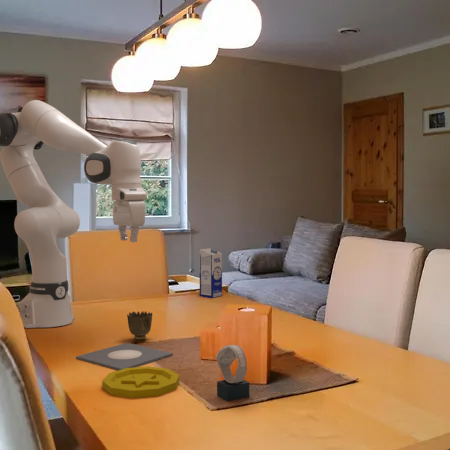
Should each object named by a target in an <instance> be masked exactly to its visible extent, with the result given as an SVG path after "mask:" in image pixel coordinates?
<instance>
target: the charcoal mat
mask: <svg viewBox="0 0 450 450" xmlns="http://www.w3.org/2000/svg"><path fill="white" fill-rule="evenodd" d="M168 356H169V357H172V356H174V354H173V352H169V351H164V350H161V349H157V348H152V347H148V346H145V345H139V344H135V343H130V342H125V343H121V344H117V345H114V346H110V347H106V348H101V349H99V350H95V351H91V352H87V353H84V354H83V353H82V354H80V355H76V356H75V359H76V360H80V361H84V362H87V363H90V364H94V365H97V364H98V366H101V367H105V368H108V369H113V370H114V371H118V370H122V369H125V368H134V367H142V366H144V365H147V364H150V363H153V361H154V362H156V360H157V361H159V359H160V360H163V359H165V358H169V357H168ZM162 358H163V359H162Z"/></svg>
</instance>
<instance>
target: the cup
mask: <svg viewBox="0 0 450 450" xmlns="http://www.w3.org/2000/svg"><path fill="white" fill-rule="evenodd" d="M126 317H127V325H128V330H129V332H130V334H131V335H133V340H134V341H136V342H144V341H145V340H147V336H146V335H148V334H149V333H150V331H151V328H152V321H153V312H151V311H148V312H147V311H143V310H142V312H140V311H137V312H136V311H132V312H129V313H128V314H126Z"/></svg>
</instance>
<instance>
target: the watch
mask: <svg viewBox="0 0 450 450" xmlns="http://www.w3.org/2000/svg"><path fill="white" fill-rule="evenodd" d="M215 359H216V361H217V365H218V367H219V370H220V373H221V376H222V377H223V379H224V380H223V379H222V380H218V381H217V380H216V384H217V385H216V396H217V397H219V398H220V399H222V400H224V401H226V402H232V401H236V400H240V399H246V398H249V397H250V382H249V381H246V380H245V377H246V376H247V375H246V374H247V372H248V371H247V370H248V367H247V366H248V365H247V364H248V361H247V357H246V353H245V351H244V349H243V348H242V347H241V346H240V345H237V344H234V345H233V344H228V345H224V346H223V347H222V348H220V349H219V350H218V352H217V353H216V355H215ZM236 359H237V368H236V370H235V374H234V376H233V373H232V370H231V366H232V365H233V363H234V361H235V360H236Z"/></svg>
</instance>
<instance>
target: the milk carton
mask: <svg viewBox="0 0 450 450" xmlns="http://www.w3.org/2000/svg"><path fill="white" fill-rule="evenodd" d="M200 296H202V297H201V298H206V297H207V299H215V298H219V297H222V296H223V253H222V252H220V251H219V250H218V249H215V248H210V247H207V248H202V249H199V297H200Z"/></svg>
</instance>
